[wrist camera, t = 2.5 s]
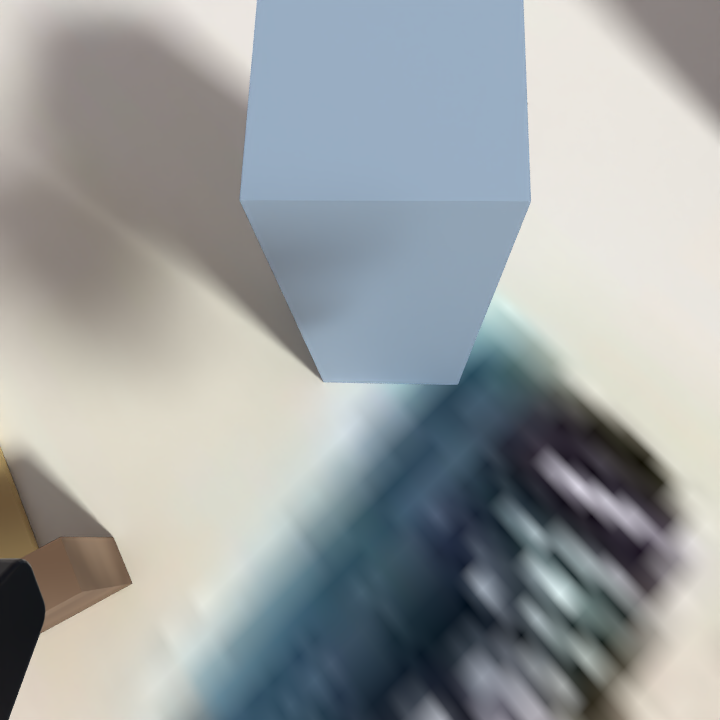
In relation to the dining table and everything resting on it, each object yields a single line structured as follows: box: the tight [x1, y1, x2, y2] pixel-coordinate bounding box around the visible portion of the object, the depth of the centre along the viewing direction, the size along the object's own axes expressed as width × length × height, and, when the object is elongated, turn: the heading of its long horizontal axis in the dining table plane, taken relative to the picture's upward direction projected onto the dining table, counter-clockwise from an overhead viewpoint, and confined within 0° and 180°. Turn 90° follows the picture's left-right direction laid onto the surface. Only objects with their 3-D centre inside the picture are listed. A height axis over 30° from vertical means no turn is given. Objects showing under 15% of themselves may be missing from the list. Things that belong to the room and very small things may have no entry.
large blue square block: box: [240, 0, 531, 385], centre depth 17 cm, size 4×4×12 cm
